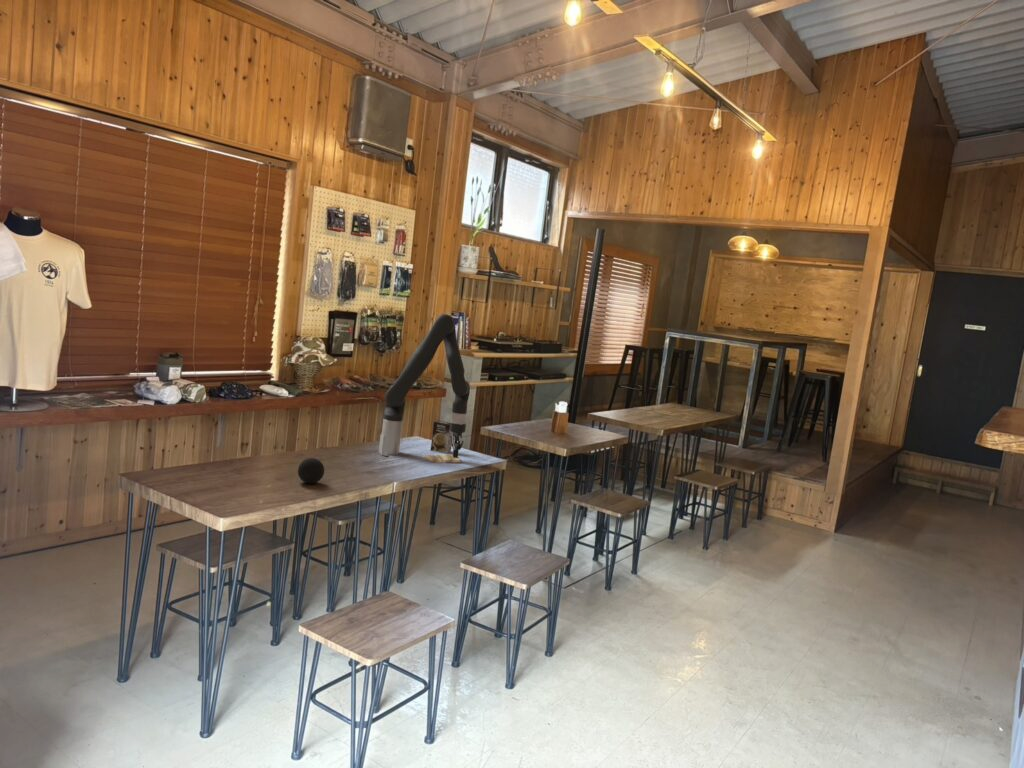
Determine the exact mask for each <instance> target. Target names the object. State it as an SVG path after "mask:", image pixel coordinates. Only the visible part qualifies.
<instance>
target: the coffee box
mask: <svg viewBox="0 0 1024 768" xmlns="http://www.w3.org/2000/svg"><path fill="white" fill-rule="evenodd" d="M450 423H451V422H448V421H444V420H434V421H433V425H432V434H431V444H430V452H436V453H441V454H444V455H448V454H449V453H451V452H452V445H451V438H450V436H452V435H453V432H451V431H450Z"/></svg>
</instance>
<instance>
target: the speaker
mask: <svg viewBox="0 0 1024 768" xmlns="http://www.w3.org/2000/svg"><path fill="white" fill-rule="evenodd" d="M297 468H298V469H297V475H298V478H299V479H300V480H301V481H302V482H303V483H306V484H311V485H312V484H316V483H318V482H319V481H321V480H322V478H323V477H324V474H325V467H324V464H323V462H321V460H319V459H317V458H314V457H309V458H305V459H304V460H302V461H301V463H299V465H298V467H297Z"/></svg>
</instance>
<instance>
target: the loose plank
mask: <svg viewBox="0 0 1024 768" xmlns="http://www.w3.org/2000/svg"><path fill="white" fill-rule="evenodd" d="M436 456H437V457H438V458H439V459H440V460H442V462H443V463H444V464H446V463H448V464H449V463H463V459H462V458H460V457H459V456H458V457H457V458H454V457H453V453H452V454H436Z"/></svg>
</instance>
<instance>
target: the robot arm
mask: <svg viewBox="0 0 1024 768" xmlns="http://www.w3.org/2000/svg"><path fill="white" fill-rule="evenodd" d="M456 332H457V331H456V321H455V319H454V318H453V316H451V315H449V314H441V315H438V317H436V319H435V321H434V323H433V324H432V326H431V328H430V330H429V332H428V334H427V335H426V336H425V338H424V339H423V340H422V341H421V342H420V343H419V344H418V346H417V348H416V349H415V350H414V351H413V353H412V354H411V355H410V356H409V359H408V361H407V362H406V363H405V365H404V367H403V370H402V371H401V372H400V375H399V376H398V378H397V379H396V380H395V382H394V383H393V384H391V386H390V387H389V389H387V391H386V392H385V395H384V399H385V405H384V406H385V407H384V412H383V416H382V417H383V419H382V428H381V429H382V430H381V433H380V436H379V444H378V445H379V447H378V454H380V455H381V456H386V457H389V455H391V456H392V455H399V454H400V449H401V438H402V429H403V421H404V413H405V406H406V398H407V395H408V393H409V391H410V389H411V388H412V386H413V385H414V384H415V383H416V382H417V380H418V379H419V378H420V377H422V375H423V373H425V370H427V368H428V367H429V365H430V364H431V362H432V360H433V359H434V357H435V355H436V353H437V350H438V348H439V346H440V345H441V343H442V342H443V344H444V348H445V355H446V361H447V365H448V370H449V373H450V381H451V388H452V392H453V394H454V395H455V396H454V400H453V402H452V407H451V415H450V422H449V423H450V431H451V432H453V435H452V436H450V438H451V448H452V450H453V451H452V454H453V457H454V458H457V457H459V451H460V450H462V447H463V445H464V440H463V435H462V434H463V433H466V430H467V429H466V428H467V418H468V417H467V416H468V415H467V412H468V411H467V410H468V402H469V398H470V393H471V392H470V391H471V385H470V384H469V382H468V381H466V379H465V367H464V363H463V359H462V356H461V353H460V352H461V351H460V349H459V346H458V339H457V333H456Z"/></svg>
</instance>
